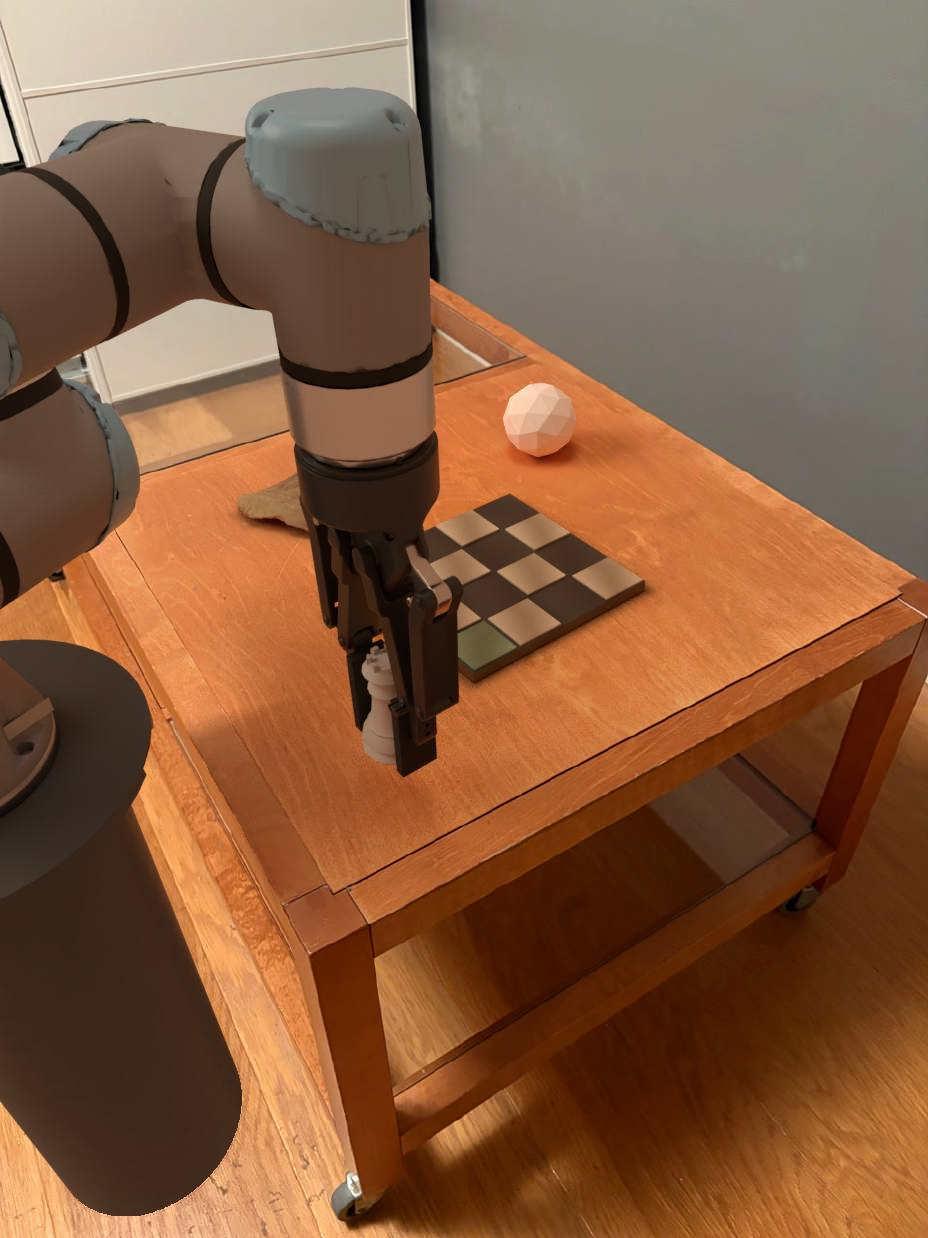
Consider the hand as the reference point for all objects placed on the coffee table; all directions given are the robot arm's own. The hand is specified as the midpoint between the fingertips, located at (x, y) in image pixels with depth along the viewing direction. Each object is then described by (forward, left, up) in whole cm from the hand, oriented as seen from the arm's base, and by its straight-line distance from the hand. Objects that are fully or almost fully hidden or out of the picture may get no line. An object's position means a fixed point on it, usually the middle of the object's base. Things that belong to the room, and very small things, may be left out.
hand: (395, 741), depth 64 cm
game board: (+21, +16, -5) cm, 26 cm away
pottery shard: (+13, +38, -6) cm, 41 cm away
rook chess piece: (0, 0, 0) cm, 0 cm away
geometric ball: (+39, +31, -6) cm, 50 cm away
